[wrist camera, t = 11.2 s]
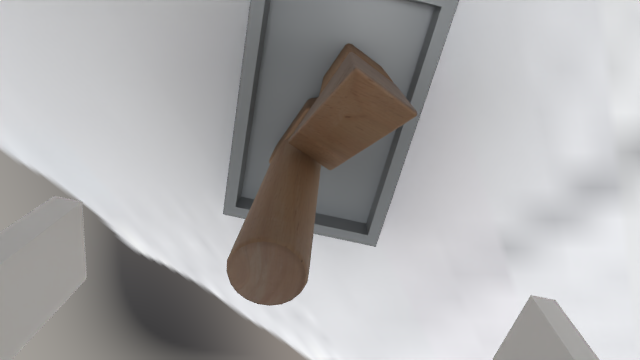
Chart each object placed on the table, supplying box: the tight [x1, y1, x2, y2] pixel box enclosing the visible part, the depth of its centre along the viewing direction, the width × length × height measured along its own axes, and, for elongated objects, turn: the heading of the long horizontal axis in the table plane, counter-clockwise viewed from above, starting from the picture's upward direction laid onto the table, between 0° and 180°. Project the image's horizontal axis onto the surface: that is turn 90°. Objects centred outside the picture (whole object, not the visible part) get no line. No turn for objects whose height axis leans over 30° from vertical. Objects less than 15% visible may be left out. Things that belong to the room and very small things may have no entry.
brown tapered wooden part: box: [227, 43, 418, 306], centre depth 23 cm, size 4×11×18 cm, turn 145°
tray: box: [223, 0, 459, 247], centre depth 31 cm, size 21×14×3 cm, turn 167°
